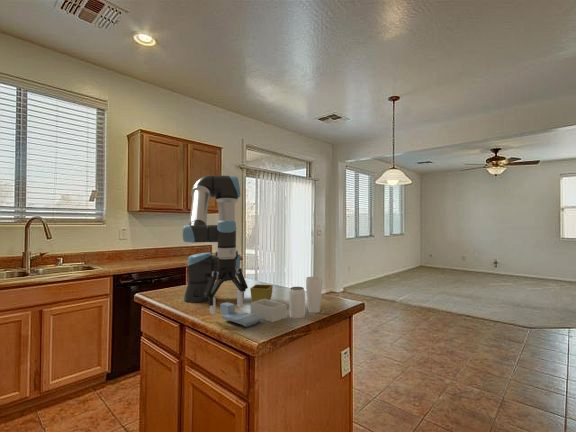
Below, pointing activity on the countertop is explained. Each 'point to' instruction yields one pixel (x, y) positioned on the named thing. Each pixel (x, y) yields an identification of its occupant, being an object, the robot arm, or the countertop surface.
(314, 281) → the drinking glass
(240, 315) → the lid
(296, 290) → the can
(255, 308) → the tub
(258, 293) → the flower pot
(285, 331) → the countertop surface
